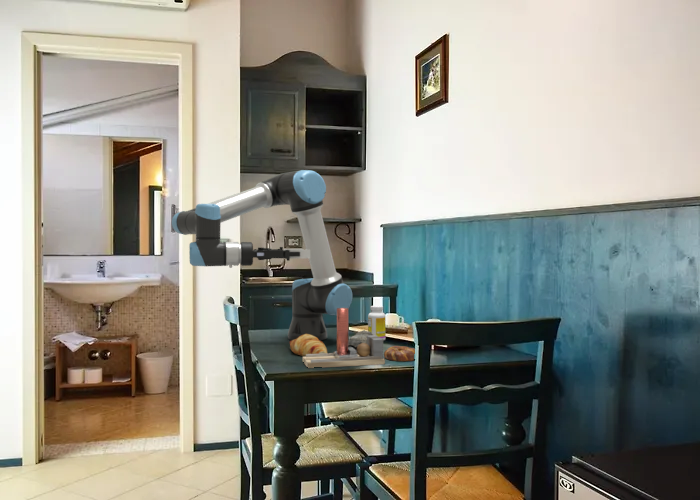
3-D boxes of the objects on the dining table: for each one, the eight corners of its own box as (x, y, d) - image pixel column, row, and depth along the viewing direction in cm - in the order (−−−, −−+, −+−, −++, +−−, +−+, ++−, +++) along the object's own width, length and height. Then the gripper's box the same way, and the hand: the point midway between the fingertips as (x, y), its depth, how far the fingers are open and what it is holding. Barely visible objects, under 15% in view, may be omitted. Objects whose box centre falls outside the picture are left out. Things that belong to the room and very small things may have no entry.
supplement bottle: (388, 339, 229) (388, 305, 229) (381, 342, 224) (381, 307, 223) (372, 337, 232) (372, 305, 232) (365, 340, 227) (365, 306, 226)
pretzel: (375, 357, 196) (375, 346, 196) (401, 354, 202) (401, 343, 202) (398, 364, 186) (398, 352, 186) (425, 360, 192) (425, 348, 192)
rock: (362, 354, 200) (361, 334, 200) (340, 351, 205) (340, 332, 205) (382, 348, 211) (381, 329, 211) (361, 346, 216) (361, 328, 216)
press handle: (333, 355, 190) (333, 307, 189) (352, 354, 191) (352, 306, 191) (338, 359, 183) (338, 310, 182) (357, 358, 184) (357, 309, 184)
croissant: (333, 368, 195) (342, 345, 197) (310, 357, 189) (320, 334, 191) (297, 356, 211) (305, 335, 213) (275, 346, 206) (284, 325, 208)
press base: (302, 361, 189) (302, 337, 189) (375, 357, 195) (375, 334, 194) (308, 368, 179) (308, 343, 179) (384, 364, 185) (384, 339, 185)
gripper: (237, 263, 201) (299, 263, 206) (242, 267, 177) (313, 266, 182) (237, 241, 201) (299, 241, 206) (242, 242, 177) (313, 242, 182)
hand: (306, 253), depth 194 cm, fingers open, 13 cm apart
